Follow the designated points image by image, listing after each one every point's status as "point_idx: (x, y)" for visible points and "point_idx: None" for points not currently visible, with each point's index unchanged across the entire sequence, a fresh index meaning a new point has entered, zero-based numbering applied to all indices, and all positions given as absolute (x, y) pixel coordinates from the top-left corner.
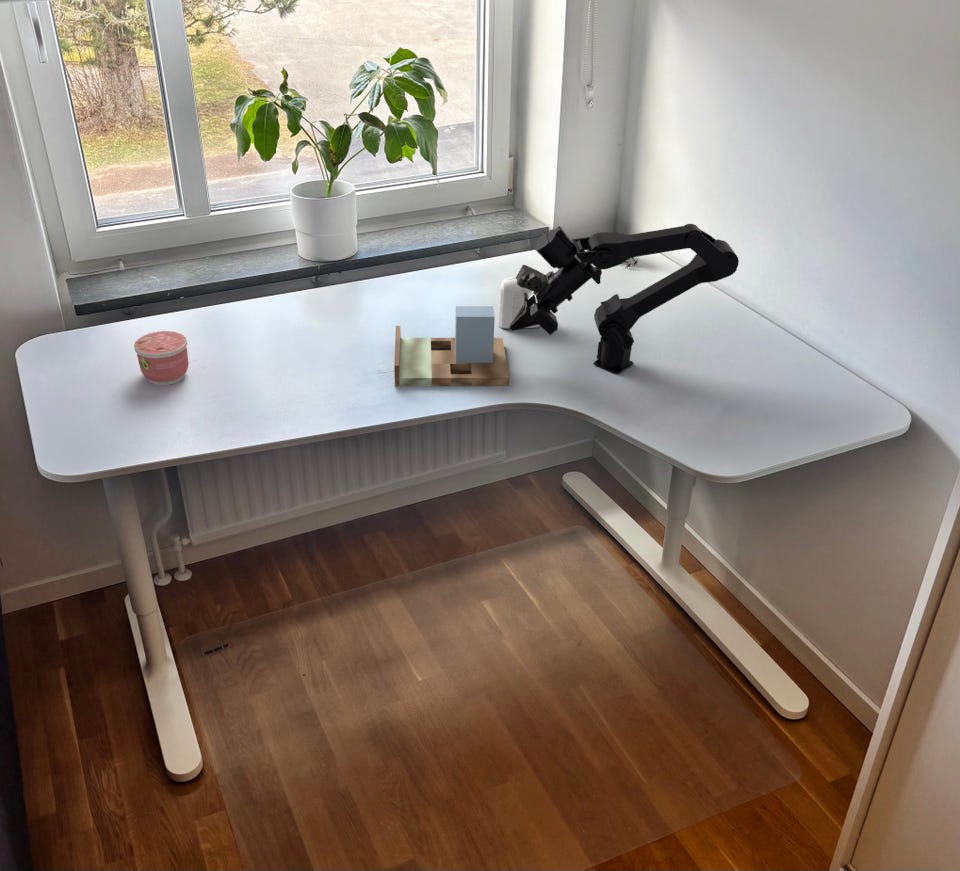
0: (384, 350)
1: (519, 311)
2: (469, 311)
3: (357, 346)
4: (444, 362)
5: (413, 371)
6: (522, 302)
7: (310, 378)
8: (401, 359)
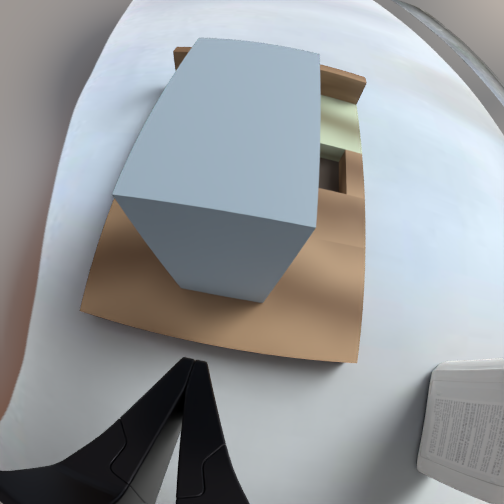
0: None
1: (215, 457)
2: (246, 77)
3: None
4: None
5: None
6: (479, 436)
7: (243, 24)
8: None
